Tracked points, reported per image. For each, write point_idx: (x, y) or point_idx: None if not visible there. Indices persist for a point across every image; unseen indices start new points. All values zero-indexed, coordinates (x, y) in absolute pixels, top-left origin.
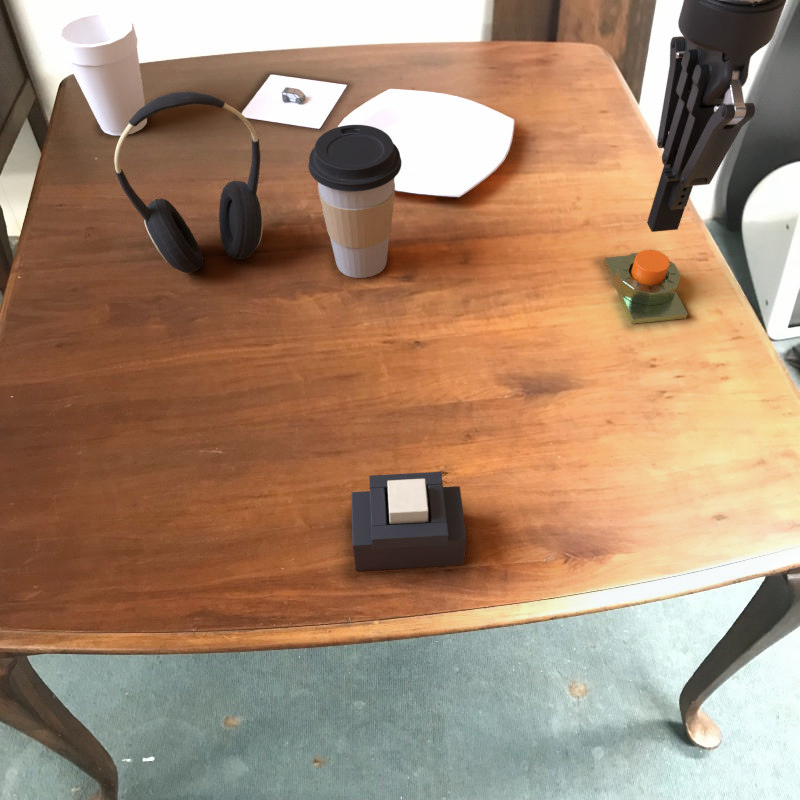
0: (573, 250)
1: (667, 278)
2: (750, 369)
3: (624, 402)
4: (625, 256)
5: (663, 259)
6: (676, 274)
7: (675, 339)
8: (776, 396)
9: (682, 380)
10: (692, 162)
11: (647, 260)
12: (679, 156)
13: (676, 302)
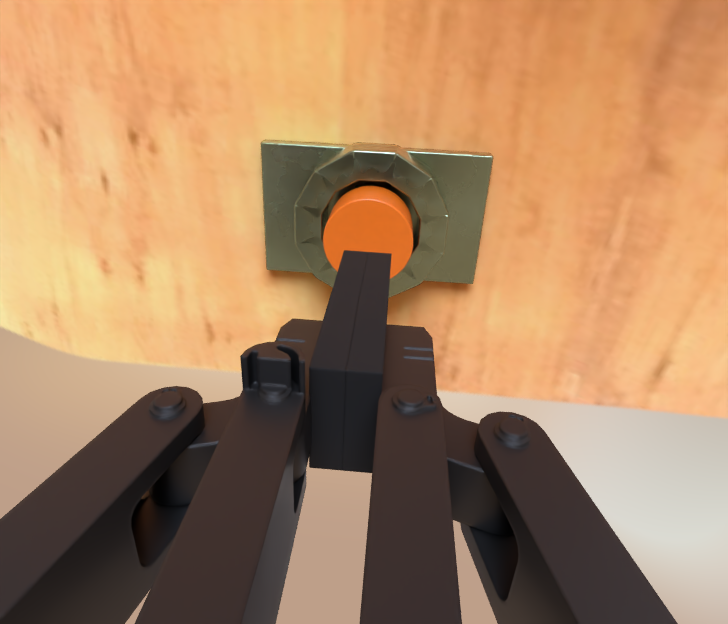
0: (564, 85)
1: None
2: (129, 319)
3: (17, 25)
4: (481, 210)
5: None
6: None
7: (211, 218)
8: (67, 331)
9: (94, 185)
10: (59, 500)
11: (369, 230)
12: (247, 464)
13: (303, 261)
